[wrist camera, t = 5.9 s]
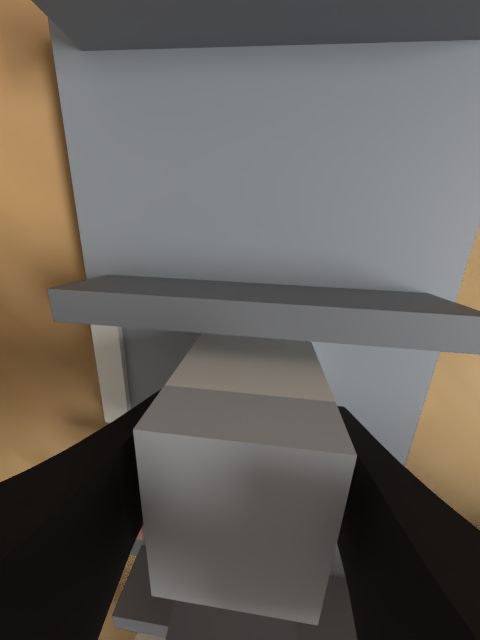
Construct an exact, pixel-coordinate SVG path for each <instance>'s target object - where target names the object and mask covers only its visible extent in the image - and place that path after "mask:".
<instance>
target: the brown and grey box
mask: <svg viewBox="0 0 480 640" xmlns="http://www.w3.org/2000/svg"><path fill="white" fill-rule="evenodd" d="M165 640H298V635H297V622H295V621H290V620H284V619H279V618H273V617H267V616H262V615H256V614H250V613H245V612H239V611H234V610H228V609H222V608H217V607H211V606H206V605H200V604H194V603H189V602H183V601H177V600H175V604H174V608H173V611H172V615H171V619H170V623H169V627H168V631H167V635H166V638H165Z"/></svg>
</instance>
